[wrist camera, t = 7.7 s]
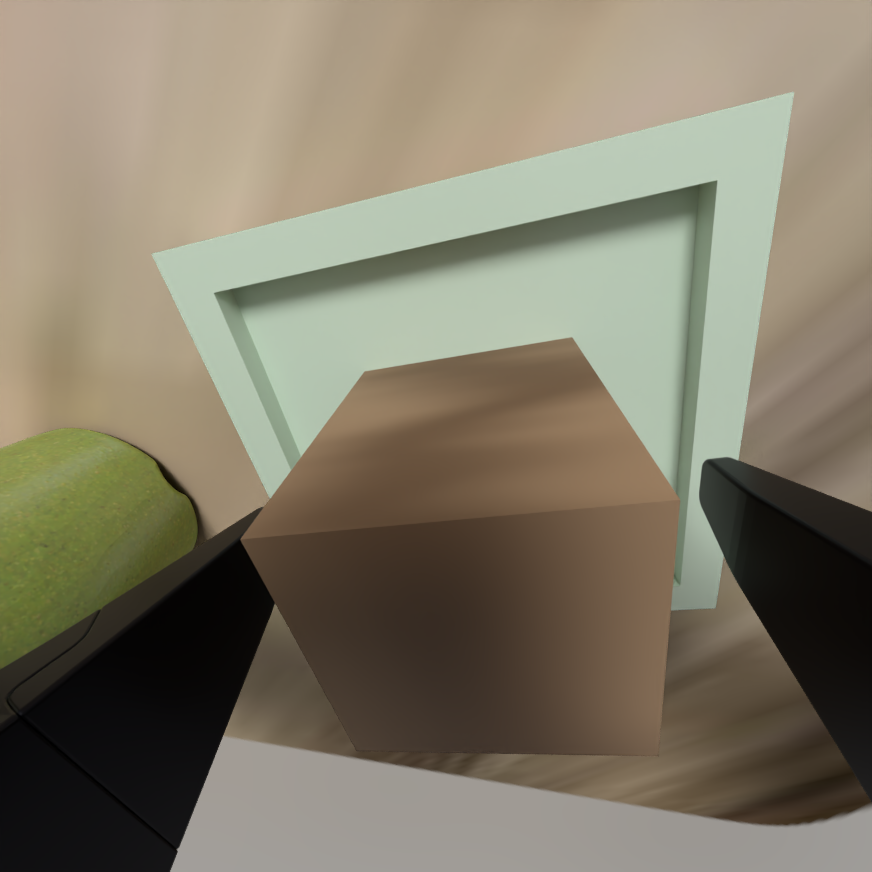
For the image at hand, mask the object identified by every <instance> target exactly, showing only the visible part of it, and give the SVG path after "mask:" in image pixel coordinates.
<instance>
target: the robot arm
mask: <svg viewBox="0 0 872 872" xmlns="http://www.w3.org/2000/svg"><path fill="white" fill-rule="evenodd" d="M699 501H700V504H701V507H702V509H703V512H704V514H705V516H706V518H707V520H708V522H709V525H710V527H711V529H712V531H713V533H714V535H715V538H716V540H717V542H718V544H719V546H720V549H721V551H722V553H723V555H724V557H725V559H726V562H727V564H728V566H729V568H730V570H731V572H732V574H733V576H734V577H735V579H736V581H737V583H738V584H739V586H740V588H741V589H742V591H743V593H744V594H745V596H746V598H747V599H748V601H749V603H750V604H751V606H752V607H753V609H754V611H755V612H756V614H757V616H758V617H759V619H760V621H761V622H762V624H763V625H764V627H765V629H766V630H767V632H768V634H769V635H770V637H771V639H772V640H773V642H774V643H775V645H776V647H777V648H778V650H779V652H780V653H781V655H782V657H783V658H784V660H785V661H786V663H787V665H788V666H789V668H790V670H791V671H792V673H793V674H794V676H795V678H796V679H797V681H798V683H799V684H800V686H801V688H802V689H803V691H804V692H805V694H806V696H807V697H808V699H809V701H810V702H811V704H812V706H813V707H814V709H815V710H816V712H817V714H818V715H819V717H820V719H821V720H822V722H823V724H824V725H825V727H826V728H827V730H828V732H829V733H830V735H831V737H832V738H833V740H834V742H835V743H836V745H837V746H838V748H839V750H840V751H841V753H842V755H843V756H844V758H845V759H846V761H847V763H848V764H849V766H850V768H851V769H852V771H853V773H854V774H855V776H856V777H857V779H858V781H859V782H860V784H861V786H862V787H863V789H864V791H865V792H866V794H867V795H868V797H869V799H870V800H871V802H872V512H871V511H868V510H865V509H863V508H860V507H858V506H855V505H852V504H850V503H847V502H845V501H842V500H840V499H837V498H834V497H832V496H829V495H827V494H824V493H821V492H819V491H816V490H814V489H811V488H808V487H806V486H803V485H801V484H798V483H795V482H793V481H790V480H788V479H785V478H782V477H780V476H777V475H775V474H772V473H770V472H767V471H764V470H762V469H759V468H757V467H754V466H751V465H749V464H746V463H744V462H741V461H738V460H736V459H733V458H730V457H721V458H712V459H707V460H705V461H704V462H703V464H702V469H701V479H700V488H699ZM263 508H264V507H261V508H258V509H257V510H255V511H254V512H252V513H250V514H249V515H247V516H246V517H244V518H242V519H241V520H239V521H238V522H236V523H235V524H233V525H231V526H230V527H228V528H227V529H225V530H223V531H222V532H220V533H219V534H217V535H216V536H214V537H212V538H211V539H209V540H208V541H206V542H204V543H203V544H201V545H200V546H198V547H197V548H195V549H193V550H192V551H190V552H189V553H187V554H185V555H184V556H182V557H181V558H179V559H178V560H176V561H174V562H173V563H171V564H170V565H168V566H166V567H165V568H163V569H162V570H160V571H159V572H157V573H155V574H154V575H152V576H151V577H149V578H147V579H146V580H144V581H143V582H141V583H139V584H138V585H136V586H135V587H133V588H132V589H130V590H128V591H127V592H125V593H124V594H122V595H120V596H119V597H117V598H116V599H114V600H113V601H111V602H109V603H108V604H106V605H105V606H103V607H102V609H99V610H97V611H95V612H93V613H92V614H90V615H89V616H87V617H86V618H84V619H82V620H81V621H79V622H78V623H76V624H74V625H73V626H71V627H69V628H68V629H66V630H65V631H63V632H61V633H60V634H58V635H57V636H55V637H53V638H52V639H50V640H48V641H47V642H45V643H43V644H42V645H40V646H38V647H37V648H35V649H33V650H32V651H30V652H28V653H27V654H25V655H23V656H22V657H20V658H18V659H16V660H15V661H13V662H11V663H10V664H8V665H6V666H5V667H3V668H1V669H0V872H170V870H171V868H172V865H173V862H174V860H175V857H176V855H177V852H178V851H177V849H178V848H179V846H180V844H181V841H182V839H183V836H184V834H185V831H186V829H187V826H188V824H189V821H190V818H191V816H192V813H193V811H194V808H195V806H196V803H197V801H198V798H199V795H200V793H201V791H202V788H203V786H204V783H205V780H206V778H207V775H208V773H209V770H210V768H211V765H212V763H213V760H214V758H215V755H216V752H217V750H218V747H219V745H220V742H221V740H222V737H223V735H224V732H225V730H226V727H227V725H228V722H229V719H230V717H231V714H232V712H233V709H234V707H235V704H236V702H237V699H238V697H239V694H240V692H241V689H242V686H243V684H244V681H245V679H246V676H247V674H248V671H249V669H250V666H251V664H252V661H253V659H254V656H255V653H256V651H257V648H258V646H259V643H260V641H261V638H262V636H263V633H264V631H265V628H266V626H267V623H268V620H269V618H270V615H271V613H272V610H273V607H274V605H275V602H274V600H273V598H272V596H271V595H270V593H269V591H268V589H267V587H266V585H265V584H264V582H263V580H262V578H261V576H260V575H259V573H258V571H257V569H256V567H255V565H254V564H253V562H252V560H251V558H250V556H249V555H248V553H247V551H246V549H245V547H244V545H243V544H242V542H241V540H240V539H241V538H242V536H243V535H244V534H245V532H246V531H247V529H248V528H249V527H250V525H251V524H252V523H253V521H254V520H255V519H256V517H257V516H258V515H259V513H260V512H261V511H262V509H263Z"/></svg>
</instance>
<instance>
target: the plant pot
mask: <svg viewBox="0 0 872 872" xmlns="http://www.w3.org/2000/svg"><path fill="white" fill-rule="evenodd" d="M197 534H198V527H197V520H196V515H195V512H194V509H193V507H192V504H191V502H190V500H189V499H188V497H187V496H186V495H184V494H182V493H180V492H178V491H177V490H175V489H174V488H173V487H172V486H171V485H170V484H169V483H168V482H167V481H166V479H165V478H164V477H163V475H162V473H161V472H160V469H159V467H158V465H157V463H156V462H155V461H154V460H153V459H152V458H151V457H149V456H148V455H146V454H145V453H143V452H142V451H140V450H139V449H137V448H135V447H133V446H131V445H129V444H128V443H126V442H124V441H121V440H119V439H117V438H114V437H112V436H109V435H106V434H103V433H99V432H95V431H91V430H86V429H77V428H64V429H57V430H53V431H49V432H45V433H42V434H39V435H36V436H33V437H30V438H27V439H25V440H22V441H19V442H17V443H14V444H11V445H8V446H6V447H3V448H0V669H1V668H3V667H5V666H6V665H8V664H10V663H11V662H13V661H15V660H16V659H18V658H20V657H22V656H23V655H25V654H27V653H28V652H30V651H32V650H33V649H35V648H37V647H38V646H40V645H42V644H43V643H45V642H47V641H48V640H50V639H52V638H53V637H55V636H57V635H58V634H60V633H61V632H63V631H65V630H66V629H68V628H69V627H71V626H73V625H74V624H76V623H78V622H79V621H81V620H82V619H84V618H86V617H87V616H89V615H90V614H92V613H93V612H95V611H97V610H99V609H102V607H103V606H105V605H106V604H108V603H109V602H111V601H113V600H114V599H116V598H117V597H119V596H120V595H122V594H124V593H125V592H127V591H128V590H130V589H132V588H133V587H135V586H136V585H138V584H139V583H141V582H143V581H144V580H146V579H147V578H149V577H151V576H152V575H154V574H155V573H157V572H159V571H160V570H162V569H163V568H165V567H166V566H168V565H170V564H171V563H173V562H174V561H176V560H178V559H179V558H181V557H182V556H184V555H185V554H187V553H189V552H190V551H192V550H193V548H194V546H195V543H196V540H197Z"/></svg>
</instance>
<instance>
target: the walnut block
mask: <svg viewBox="0 0 872 872" xmlns="http://www.w3.org/2000/svg"><path fill="white" fill-rule="evenodd" d="M679 509H680V499H679V497H678V496H677V494H676V493H675V491H674V490H673V488H672V487H671V485H670V484H669V482H668V481H667V479H666V478H665V476H664V475H663V473H662V472H661V470H660V469H659V467H658V466H657V464H656V463H655V461H654V460H653V458H652V457H651V455H650V454H649V452H648V451H647V449H646V448H645V446H644V444H643V443H642V441H641V440H640V438H639V437H638V435H637V434H636V432H635V431H634V429H633V428H632V426H631V425H630V423H629V422H628V420H627V419H626V417H625V416H624V414H623V413H622V411H621V410H620V408H619V407H618V405H617V404H616V402H615V401H614V399H613V398H612V396H611V395H610V393H609V392H608V390H607V389H606V387H605V386H604V384H603V383H602V381H601V380H600V378H599V377H598V375H597V374H596V372H595V371H594V369H593V368H592V366H591V365H590V363H589V362H588V360H587V359H586V357H585V356H584V354H583V353H582V351H581V350H580V348H579V347H578V345H577V344H576V342H575V341H574V339H573V338H572V337H570V338H564V339H558V340H552V341H546V342H540V343H534V344H528V345H522V346H515V347H509V348H503V349H497V350H491V351H485V352H479V353H473V354H467V355H461V356H455V357H449V358H443V359H437V360H431V361H425V362H419V363H413V364H406V365H400V366H394V367H388V368H382V369H376V370H370V371H364V373H363V374H362V375H361V377H360V378H359V380H358V381H357V382H356V384H355V385H354V386H353V388H352V389H351V390H350V392H349V393H348V394H347V396H346V397H345V398H344V400H343V401H342V402H341V404H340V405H339V407H338V408H337V409H336V411H335V412H334V413H333V415H332V416H331V417H330V419H329V420H328V421H327V423H326V424H325V425H324V427H323V428H322V430H321V431H320V432H319V434H318V435H317V436H316V438H315V439H314V440H313V442H312V443H311V444H310V446H309V447H308V448H307V450H306V451H305V452H304V454H303V455H302V457H301V458H300V459H299V461H298V462H297V463H296V465H295V466H294V467H293V469H292V470H291V471H290V473H289V474H288V475H287V477H286V478H285V479H284V481H283V482H282V484H281V485H280V486H279V488H278V489H277V490H276V492H275V493H274V494H273V496H272V497H271V498H270V500H269V501H268V502H267V504H266V505H265V506H264V508H263V509H262V511H261V512H260V513H259V515H258V516H257V517H256V519H255V520H254V521H253V523H252V524H251V525H250V527H249V528H248V529H247V531H246V532H245V534H244V535H243V536H242V538H241V539H240V540H241V542H242V544H243V545H244V547H245V549H246V551H247V553H248V555H249V556H250V558H251V560H252V562H253V564H254V565H255V567H256V569H257V571H258V573H259V575H260V576H261V578H262V580H263V582H264V584H265V585H266V587H267V589H268V591H269V593H270V595H271V596H272V598H273V600H274V602H275V604H276V605H277V607H278V609H279V611H280V613H281V615H282V616H283V618H284V620H285V622H286V624H287V625H288V627H289V629H290V631H291V633H292V634H293V636H294V638H295V640H296V642H297V644H298V645H299V647H300V649H301V651H302V653H303V654H304V656H305V658H306V660H307V662H308V664H309V665H310V667H311V669H312V671H313V673H314V674H315V676H316V678H317V680H318V682H319V684H320V685H321V687H322V689H323V691H324V693H325V694H326V696H327V698H328V700H329V702H330V704H331V705H332V707H333V709H334V711H335V713H336V714H337V716H338V718H339V720H340V722H341V723H342V725H343V727H344V729H345V731H346V733H347V734H348V736H349V738H350V740H351V742H352V743H353V745H354V747H355V749H356V751H382V752H441V753H499V754H557V755H615V756H658V754H659V742H660V730H661V719H662V707H663V695H664V684H665V672H666V660H667V649H668V637H669V625H670V614H671V602H672V590H673V579H674V567H675V555H676V544H677V532H678V520H679Z"/></svg>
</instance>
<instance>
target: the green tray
mask: <svg viewBox="0 0 872 872" xmlns="http://www.w3.org/2000/svg"><path fill="white" fill-rule="evenodd" d="M793 96H794V92H791V93H787V94H783V95H779V96H775V97H771V98H767V99H763V100H759V101H755V102H751V103H747V104H743V105H739V106H735V107H731V108H727V109H723V110H719V111H715V112H711V113H707V114H703V115H699V116H696V117H692V118H688V119H684V120H680V121H676V122H672V123H668V124H664V125H660V126H656V127H652V128H648V129H644V130H640V131H636V132H632V133H628V134H624V135H620V136H616V137H612V138H608V139H604V140H600V141H596V142H593V143H589V144H585V145H581V146H577V147H573V148H569V149H565V150H561V151H557V152H553V153H549V154H545V155H541V156H537V157H533V158H529V159H525V160H521V161H517V162H513V163H509V164H505V165H501V166H497V167H493V168H489V169H486V170H482V171H478V172H474V173H470V174H466V175H462V176H458V177H454V178H450V179H446V180H442V181H438V182H434V183H430V184H426V185H422V186H418V187H414V188H410V189H406V190H402V191H398V192H394V193H390V194H386V195H382V196H379V197H375V198H371V199H367V200H363V201H359V202H355V203H351V204H347V205H343V206H339V207H335V208H331V209H327V210H323V211H319V212H315V213H311V214H307V215H303V216H299V217H295V218H291V219H287V220H283V221H279V222H276V223H272V224H268V225H264V226H260V227H256V228H252V229H248V230H244V231H240V232H236V233H232V234H228V235H224V236H220V237H216V238H212V239H208V240H204V241H200V242H196V243H192V244H188V245H184V246H180V247H176V248H172V249H169V250H165V251H161V252H157V253H153V254H152V256H153V258H154V260H155V262H156V264H157V266H158V268H159V270H160V273H161V275H162V277H163V279H164V281H165V283H166V285H167V287H168V289H169V291H170V293H171V295H172V297H173V299H174V302H175V304H176V306H177V308H178V310H179V312H180V314H181V316H182V318H183V320H184V322H185V324H186V326H187V328H188V330H189V333H190V335H191V337H192V339H193V341H194V343H195V345H196V347H197V349H198V351H199V353H200V355H201V357H202V359H203V361H204V364H205V366H206V368H207V370H208V372H209V374H210V376H211V378H212V380H213V382H214V384H215V386H216V388H217V390H218V393H219V395H220V397H221V399H222V401H223V403H224V405H225V407H226V409H227V411H228V413H229V415H230V417H231V419H232V421H233V424H234V426H235V428H236V430H237V432H238V434H239V436H240V438H241V440H242V442H243V444H244V446H245V448H246V450H247V453H248V455H249V457H250V459H251V461H252V463H253V465H254V467H255V469H256V471H257V473H258V475H259V477H260V479H261V481H262V484H263V486H264V488H265V490H266V492H267V494H268V496H269V498H271V497H272V496H273V494H274V493H275V492H276V490H277V489H278V488H279V486H280V485H281V484H282V482H283V481H284V479H285V478H286V477H287V475H288V474H289V473H290V471H291V470H292V469H293V467H294V466H295V465H296V463H297V462H298V461H299V459H300V458H301V457H302V455H303V454H304V452H305V451H306V450H307V448H308V447H309V446H310V444H311V443H312V442H313V440H314V439H315V438H316V436H317V435H318V434H319V432H320V431H321V430H322V428H323V427H324V425H325V424H326V423H327V421H328V420H329V419H330V417H331V416H332V415H333V413H334V412H335V411H336V409H337V408H338V407H339V405H340V404H341V402H342V401H343V400H344V398H345V397H346V396H347V394H348V393H349V392H350V390H351V389H352V388H353V386H354V385H355V384H356V382H357V381H358V380H359V378H360V377H361V375H362V374H363V373H364V371H370V370H376V369H382V368H388V367H394V366H400V365H406V364H413V363H419V362H425V361H431V360H437V359H443V358H449V357H455V356H461V355H467V354H473V353H479V352H485V351H491V350H497V349H503V348H509V347H515V346H522V345H528V344H534V343H540V342H546V341H552V340H558V339H564V338H570V337H572V338H573V339H574V341H575V342H576V344H577V345H578V347H579V348H580V350H581V351H582V353H583V354H584V356H585V357H586V359H587V360H588V362H589V363H590V365H591V366H592V368H593V369H594V371H595V372H596V374H597V375H598V377H599V378H600V380H601V381H602V383H603V384H604V386H605V387H606V389H607V390H608V392H609V393H610V395H611V396H612V398H613V399H614V401H615V402H616V404H617V405H618V407H619V408H620V410H621V411H622V413H623V414H624V416H625V417H626V419H627V420H628V422H629V423H630V425H631V426H632V428H633V429H634V431H635V432H636V434H637V435H638V437H639V438H640V440H641V441H642V443H643V444H644V446H645V448H646V449H647V451H648V452H649V454H650V455H651V457H652V458H653V460H654V461H655V463H656V464H657V466H658V467H659V469H660V470H661V472H662V473H663V475H664V476H665V478H666V479H667V481H668V482H669V484H670V485H671V487H672V488H673V490H674V491H675V493H676V494H677V496H678V497H679V499H680V509H679V520H678V532H677V544H676V555H675V567H674V579H673V590H672V602H671V610H692V609H713V608H716V603H717V597H718V590H719V583H720V577H721V570H722V564H723V557H724V555H723V553H722V551H721V549H720V546H719V544H718V542H717V540H716V538H715V535H714V533H713V531H712V529H711V527H710V525H709V522H708V520H707V518H706V516H705V514H704V512H703V509H702V507H701V504H700V501H699V488H700V479H701V469H702V464H703V462H704V461H705V460H707V459H712V458H721V457H730V458H733V459H736V460H738V458H739V452H740V445H741V439H742V432H743V425H744V419H745V412H746V406H747V399H748V392H749V386H750V379H751V373H752V366H753V360H754V353H755V346H756V340H757V333H758V327H759V320H760V313H761V307H762V300H763V294H764V287H765V281H766V274H767V267H768V261H769V254H770V248H771V241H772V234H773V228H774V221H775V215H776V208H777V202H778V195H779V188H780V182H781V175H782V169H783V162H784V155H785V149H786V142H787V136H788V129H789V123H790V116H791V109H792V103H793Z"/></svg>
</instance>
